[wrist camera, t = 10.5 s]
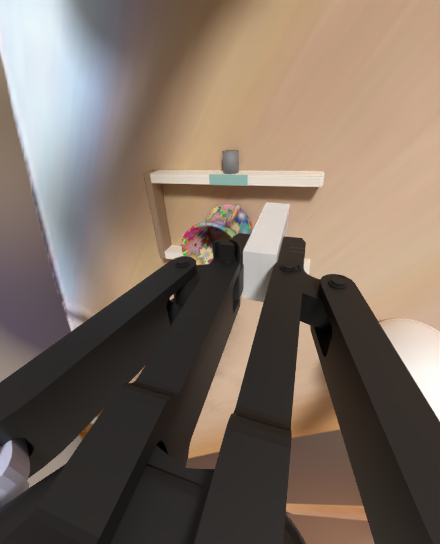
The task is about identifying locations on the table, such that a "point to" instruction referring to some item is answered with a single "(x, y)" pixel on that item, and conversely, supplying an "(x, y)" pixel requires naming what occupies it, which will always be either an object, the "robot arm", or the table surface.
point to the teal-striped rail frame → (216, 177)
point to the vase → (418, 354)
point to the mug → (214, 232)
